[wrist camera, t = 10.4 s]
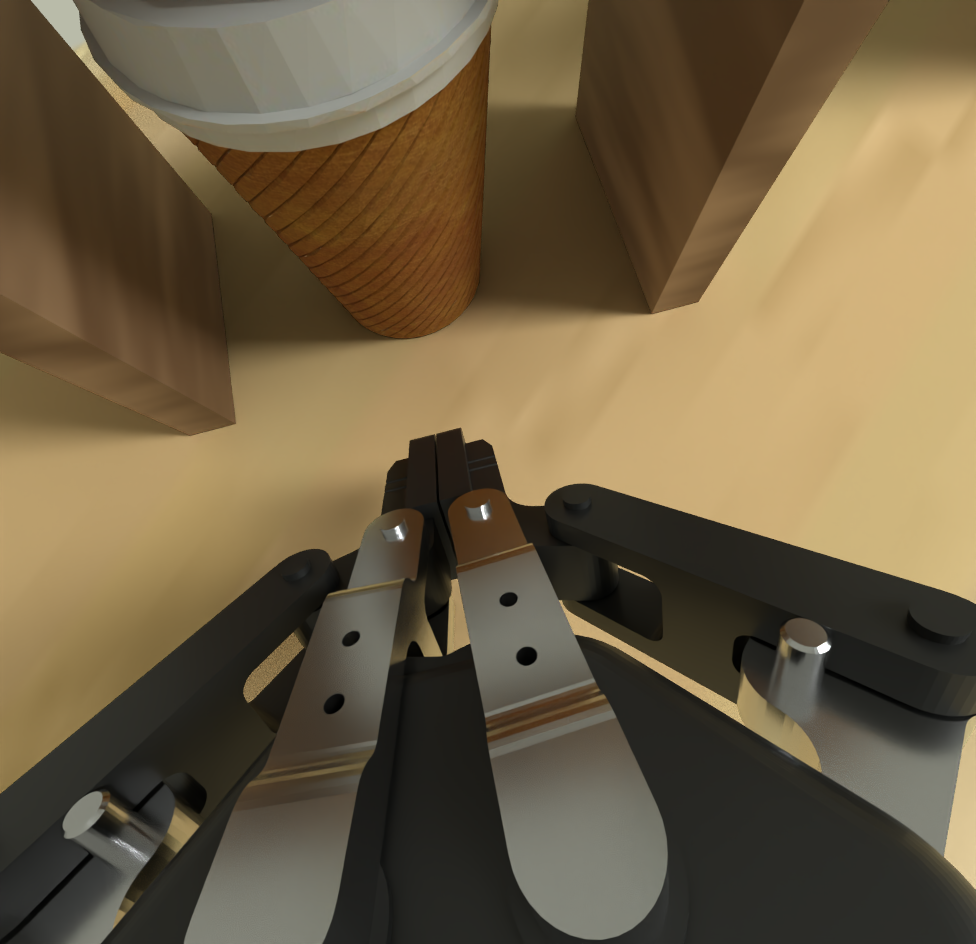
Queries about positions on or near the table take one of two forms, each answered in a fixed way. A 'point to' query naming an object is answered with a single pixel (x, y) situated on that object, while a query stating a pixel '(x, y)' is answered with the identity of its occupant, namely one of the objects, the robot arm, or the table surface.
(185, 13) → the disposable coffee cup
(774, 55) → the wooden bench stand
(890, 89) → the table surface
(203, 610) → the table surface
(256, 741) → the robot arm
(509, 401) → the table surface
